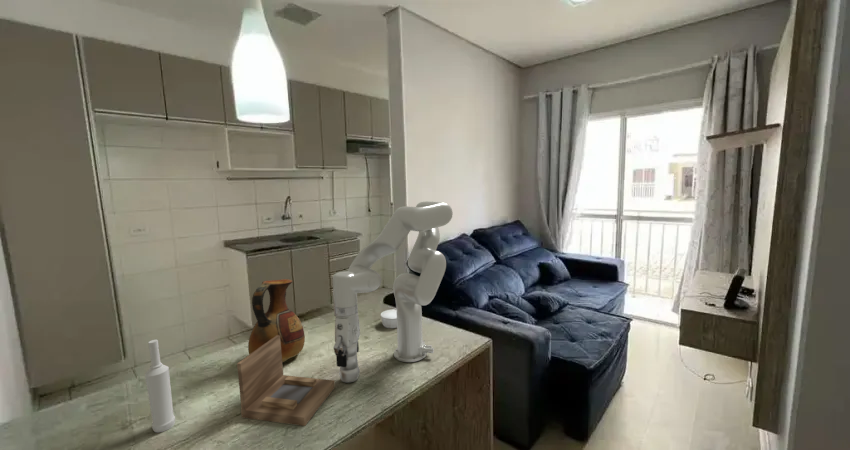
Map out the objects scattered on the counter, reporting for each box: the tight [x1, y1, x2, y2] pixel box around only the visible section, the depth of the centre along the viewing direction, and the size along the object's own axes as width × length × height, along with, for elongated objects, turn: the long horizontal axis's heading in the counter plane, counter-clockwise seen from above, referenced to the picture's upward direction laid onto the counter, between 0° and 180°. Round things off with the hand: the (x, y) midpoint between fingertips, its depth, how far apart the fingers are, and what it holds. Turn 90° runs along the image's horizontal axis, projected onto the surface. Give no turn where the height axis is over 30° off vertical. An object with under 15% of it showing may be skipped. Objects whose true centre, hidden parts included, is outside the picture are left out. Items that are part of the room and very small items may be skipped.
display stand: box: [236, 335, 336, 427], centre depth 104 cm, size 20×18×16 cm
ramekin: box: [380, 308, 397, 329], centre depth 161 cm, size 11×11×5 cm
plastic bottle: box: [338, 334, 361, 384], centre depth 115 cm, size 6×7×20 cm
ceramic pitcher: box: [247, 278, 306, 363], centre depth 131 cm, size 20×20×30 cm
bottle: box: [144, 339, 176, 433], centre depth 94 cm, size 5×5×25 cm
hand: (348, 358), depth 115 cm, fingers open, 9 cm apart
